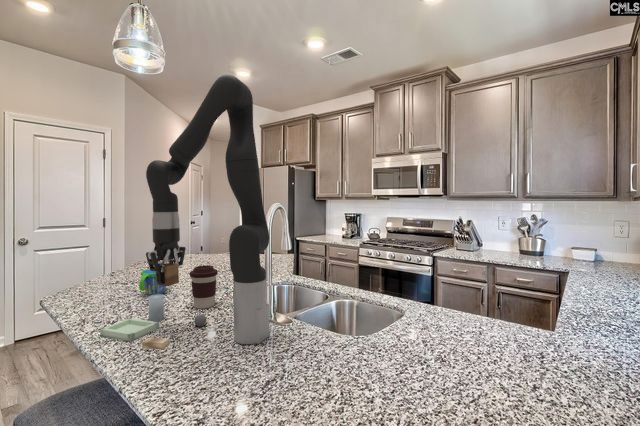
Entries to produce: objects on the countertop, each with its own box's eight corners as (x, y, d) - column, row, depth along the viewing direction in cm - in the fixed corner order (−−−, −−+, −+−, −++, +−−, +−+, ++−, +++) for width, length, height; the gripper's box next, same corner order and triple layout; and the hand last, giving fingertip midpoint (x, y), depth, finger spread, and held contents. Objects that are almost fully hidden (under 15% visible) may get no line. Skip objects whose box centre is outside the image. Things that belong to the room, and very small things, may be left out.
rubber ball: (208, 324, 107) (208, 313, 106) (201, 328, 103) (201, 317, 103) (199, 323, 108) (199, 312, 108) (192, 327, 104) (191, 316, 104)
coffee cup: (184, 307, 123) (183, 268, 123) (205, 300, 132) (204, 263, 132) (203, 312, 119) (203, 270, 118) (223, 304, 128) (223, 265, 127)
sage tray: (158, 328, 103) (158, 322, 103) (131, 341, 94) (130, 334, 94) (129, 324, 107) (129, 317, 107) (100, 335, 98) (100, 329, 98)
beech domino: (169, 345, 92) (169, 338, 92) (162, 350, 89) (162, 343, 89) (149, 344, 93) (149, 337, 93) (142, 349, 90) (142, 341, 90)
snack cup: (149, 300, 133) (149, 275, 133) (130, 297, 137) (129, 273, 136) (178, 290, 148) (178, 267, 147) (160, 288, 151) (159, 266, 151)
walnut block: (178, 282, 103) (178, 263, 103) (167, 286, 99) (167, 266, 98) (167, 281, 104) (166, 262, 104) (156, 285, 100) (155, 265, 100)
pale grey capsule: (167, 318, 113) (166, 294, 112) (156, 322, 108) (155, 298, 108) (156, 316, 114) (156, 293, 114) (145, 321, 110) (145, 297, 110)
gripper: (157, 229, 93) (159, 289, 94) (192, 225, 106) (193, 278, 107) (136, 228, 95) (138, 287, 96) (173, 225, 109) (175, 276, 109)
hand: (167, 282), depth 101 cm, fingers closed on walnut block, 4 cm apart
